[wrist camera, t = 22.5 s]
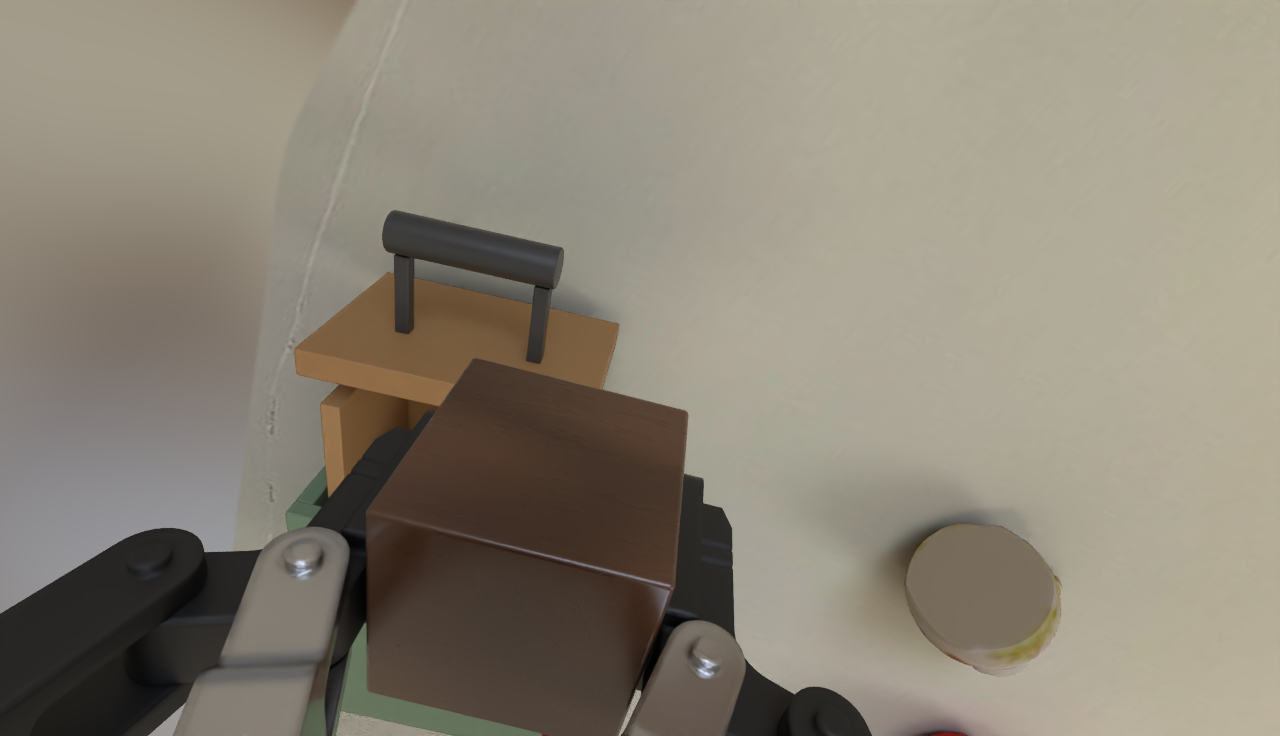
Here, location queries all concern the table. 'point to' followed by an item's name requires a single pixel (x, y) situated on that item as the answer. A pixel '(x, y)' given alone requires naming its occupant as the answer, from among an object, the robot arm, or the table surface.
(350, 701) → the cabinet
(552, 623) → the block
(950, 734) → the apple
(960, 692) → the table surface
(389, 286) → the drawer
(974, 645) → the mug
